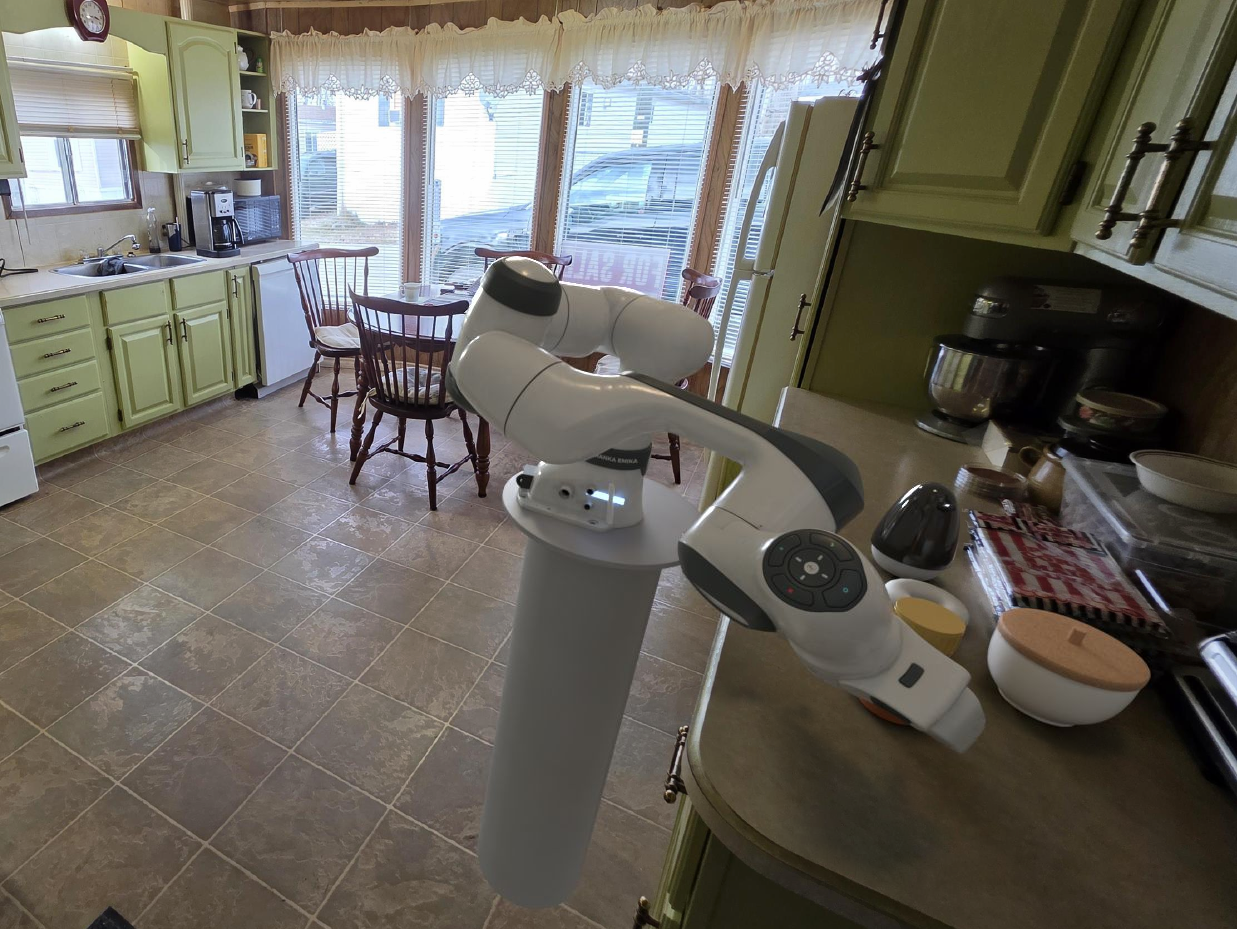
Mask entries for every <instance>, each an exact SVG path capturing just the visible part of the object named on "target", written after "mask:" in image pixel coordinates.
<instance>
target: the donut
mask: <svg viewBox="0 0 1237 929" xmlns="http://www.w3.org/2000/svg"><path fill="white" fill-rule="evenodd" d="M884 584H885V586H886V589H887V591H888V594H889V596H890V599H891V602H892V607H893V606H894V605H895V604H896V602H897V600H898V599H900V598H903V597H914V598H920V599H924V600H928V601H931V602H934V603H936V604H939V605H941V606H943V607H945V608H947V609H949V610H950V611H952V612H953V613H955V614H956V615H957V616H959V617H960V618H961V619H962V620H963V622H964V623H965V626H966V627H967V626H968V625H969V623H970V613H969V611H968V610H969V609H968V608H967V607H966V606H965V605H964V603H963V602H962V601H961V600H960V599H959V598H957V597H956V596H955V595H953V594H952V593H950V592H949V591H946V590H945V589H944V588H941V587H939V586H937V585H934V584H931V583H928V582H925V581H917V580H912V579H903V578H897V579H892V580H889V581H887V583H884Z"/></svg>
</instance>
